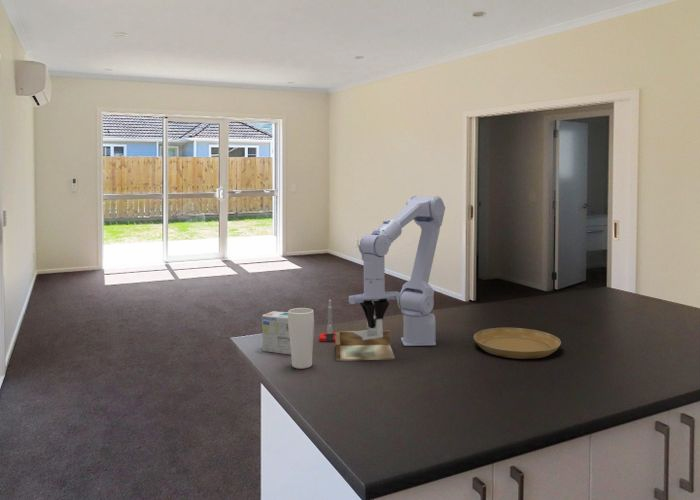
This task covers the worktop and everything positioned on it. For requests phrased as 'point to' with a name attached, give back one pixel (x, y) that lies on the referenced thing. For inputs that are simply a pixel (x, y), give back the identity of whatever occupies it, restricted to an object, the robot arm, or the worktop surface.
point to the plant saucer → (517, 342)
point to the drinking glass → (301, 336)
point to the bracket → (371, 330)
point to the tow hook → (328, 328)
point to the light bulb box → (276, 332)
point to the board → (365, 352)
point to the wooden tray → (358, 340)
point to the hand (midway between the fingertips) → (374, 326)
